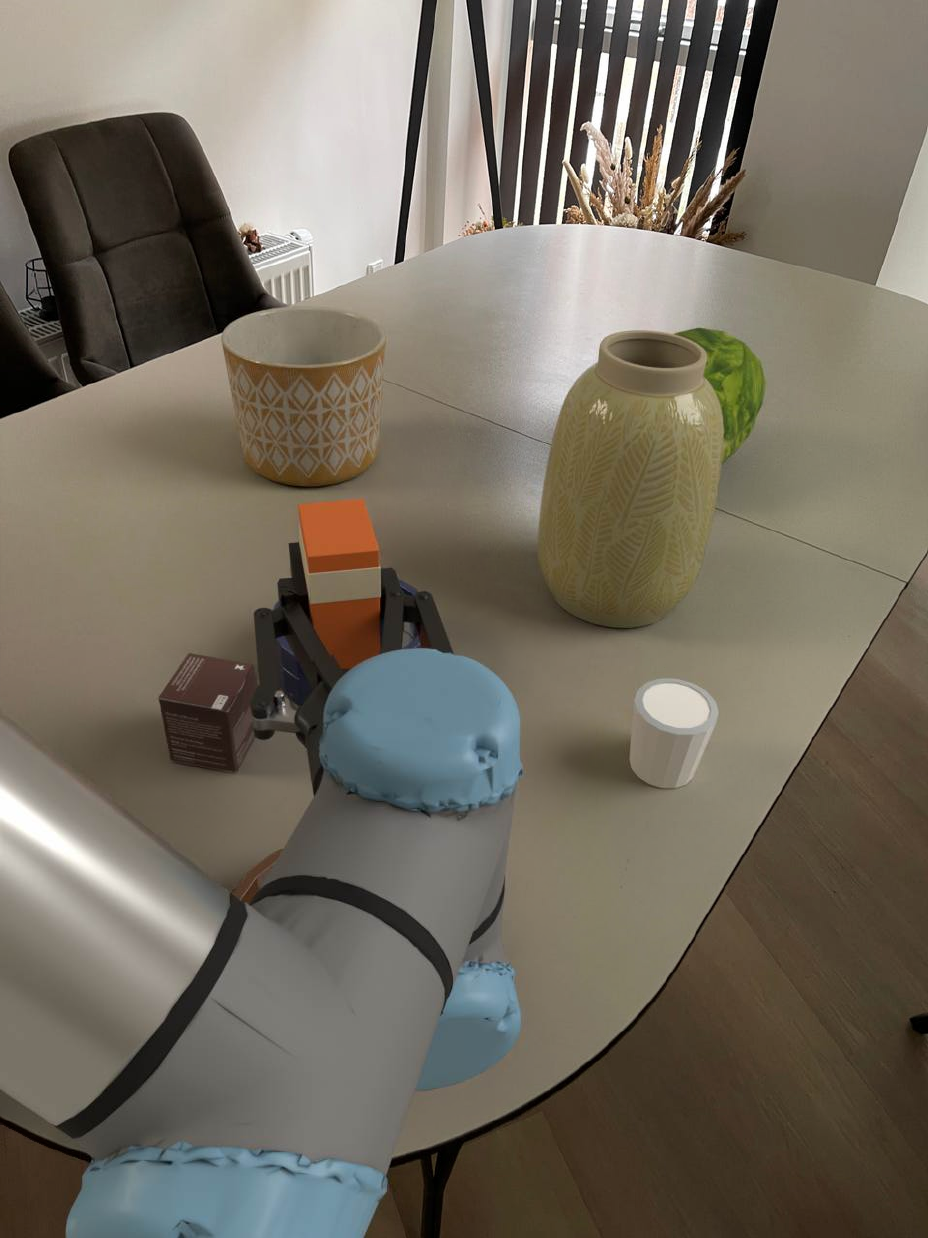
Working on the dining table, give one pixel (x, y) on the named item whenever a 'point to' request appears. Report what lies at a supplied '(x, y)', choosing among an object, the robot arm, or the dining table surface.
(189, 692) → the box
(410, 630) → the pot
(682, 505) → the vase
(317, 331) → the planter
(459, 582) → the dining table surface
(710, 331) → the lettuce
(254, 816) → the dining table surface
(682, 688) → the white cylinder
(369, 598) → the packet
